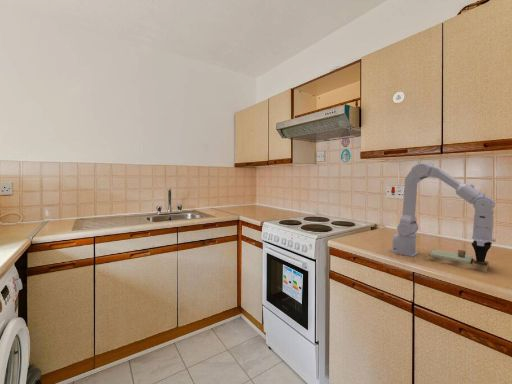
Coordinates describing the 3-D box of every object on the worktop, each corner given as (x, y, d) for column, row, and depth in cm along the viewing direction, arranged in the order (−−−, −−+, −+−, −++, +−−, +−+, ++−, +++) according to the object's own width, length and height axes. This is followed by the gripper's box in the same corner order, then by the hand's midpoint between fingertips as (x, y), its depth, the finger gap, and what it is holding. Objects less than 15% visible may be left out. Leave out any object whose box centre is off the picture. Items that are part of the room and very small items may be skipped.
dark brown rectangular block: (475, 267, 101) (476, 252, 100) (476, 266, 102) (477, 251, 102) (483, 269, 99) (484, 254, 99) (484, 267, 101) (485, 253, 100)
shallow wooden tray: (426, 261, 110) (426, 255, 109) (431, 256, 117) (431, 251, 116) (486, 273, 96) (487, 267, 96) (488, 267, 103) (488, 261, 103)
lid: (429, 255, 109) (430, 247, 109) (434, 251, 115) (434, 243, 115) (470, 263, 99) (470, 255, 99) (472, 258, 106) (473, 250, 106)
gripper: (495, 231, 92) (493, 267, 93) (497, 225, 102) (495, 258, 103) (470, 228, 97) (468, 262, 98) (474, 223, 107) (472, 254, 108)
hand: (480, 260), depth 101 cm, fingers open, 3 cm apart
